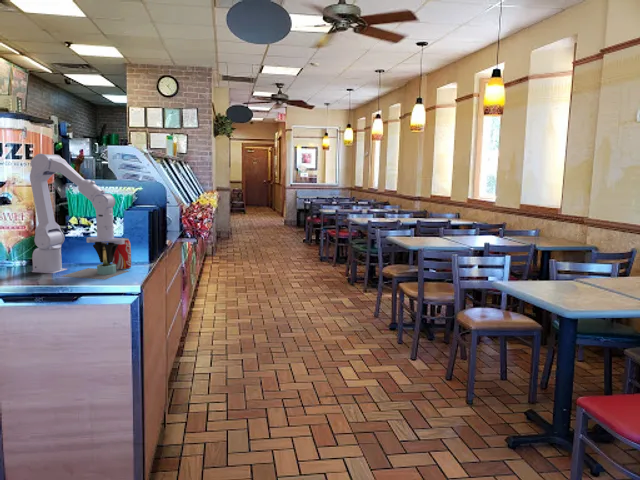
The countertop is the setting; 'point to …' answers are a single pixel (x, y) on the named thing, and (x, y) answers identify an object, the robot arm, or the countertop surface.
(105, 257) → the brass cylinder rod
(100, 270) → the bead
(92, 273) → the mat
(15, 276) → the countertop surface
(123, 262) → the soda can
